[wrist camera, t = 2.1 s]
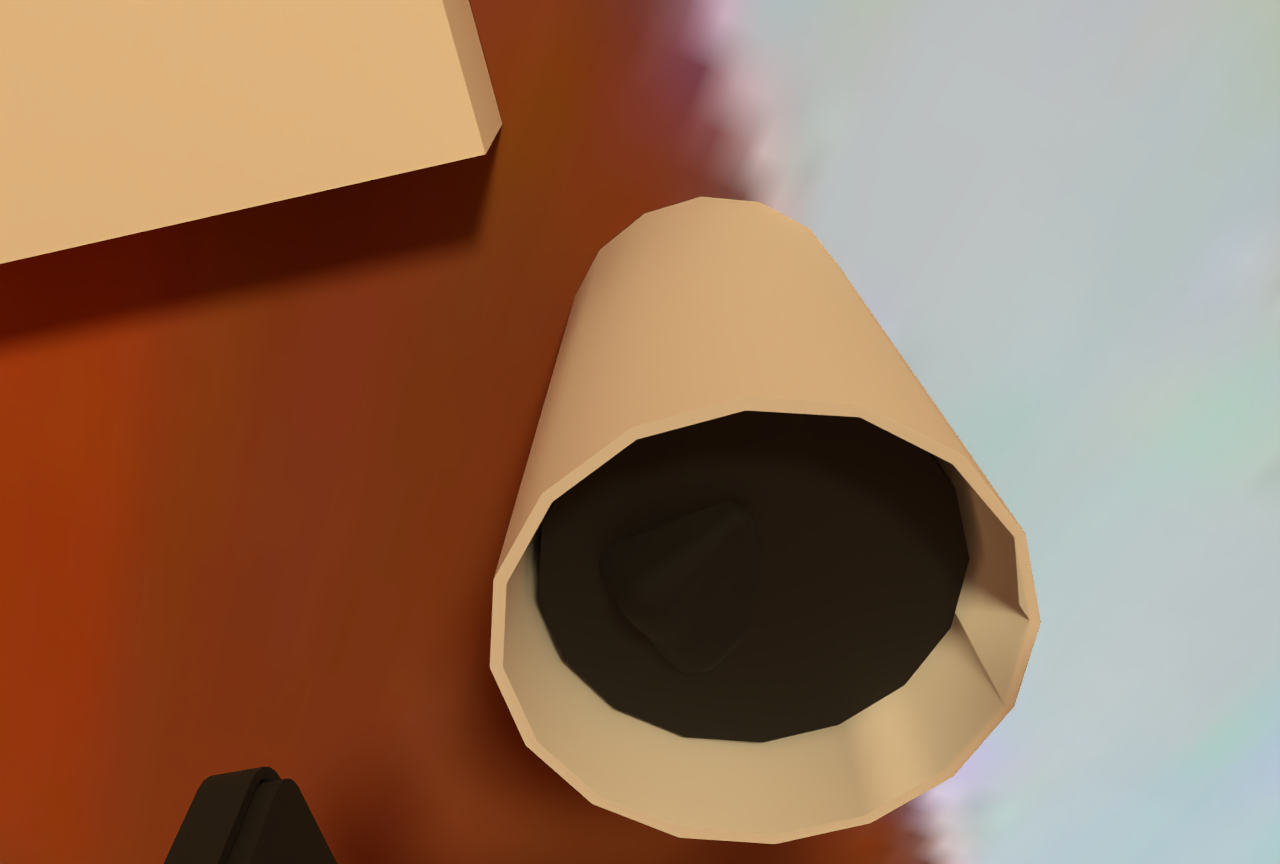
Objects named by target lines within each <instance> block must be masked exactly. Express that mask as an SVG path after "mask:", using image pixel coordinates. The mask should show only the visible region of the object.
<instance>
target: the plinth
mask: <svg viewBox="0 0 1280 864" xmlns="http://www.w3.org/2000/svg"><path fill="white" fill-rule="evenodd" d="M501 125H502V122H501V118H500V114H499V110H498V107H497V103H496V99H495V96H494V92H493V88H492V85H491V81H490V77H489V74H488V70H487V66H486V63H485V59H484V55H483V52H482V48H481V44H480V40H479V37H478V33H477V29H476V26H475V22H474V18H473V15H472V11H471V7H470V4H469V0H0V264H2V263H6V262H11V261H15V260H20V259H24V258H28V257H33V256H37V255H42V254H46V253H51V252H55V251H60V250H64V249H68V248H73V247H77V246H82V245H86V244H91V243H95V242H99V241H104V240H108V239H113V238H117V237H122V236H126V235H130V234H135V233H139V232H144V231H148V230H153V229H157V228H161V227H166V226H170V225H175V224H179V223H184V222H188V221H193V220H197V219H201V218H206V217H210V216H215V215H219V214H224V213H228V212H232V211H237V210H241V209H246V208H250V207H255V206H259V205H263V204H268V203H272V202H277V201H281V200H286V199H290V198H294V197H299V196H303V195H308V194H312V193H317V192H321V191H326V190H330V189H334V188H339V187H343V186H348V185H352V184H357V183H361V182H365V181H370V180H374V179H379V178H383V177H388V176H392V175H396V174H401V173H405V172H410V171H414V170H419V169H423V168H427V167H432V166H436V165H441V164H445V163H450V162H454V161H459V160H463V159H467V158H472V157H476V156H481V155H485V154H486V153H487V151H488V149H489V147H490V145H491V144H492V142H493V140H494V138H495V136H496V135H497V133H498V131H499V129H500V127H501Z"/></svg>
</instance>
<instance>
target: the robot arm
mask: <svg viewBox="0 0 1280 864" xmlns="http://www.w3.org/2000/svg"><path fill="white" fill-rule="evenodd" d="M164 864H337V863H336V861H335V859H334V857H333V855H332V853H331V851H330V849H329V847H328V845H327V843H326V841H325V839H324V837H323V835H322V833H321V831H320V829H319V827H318V825H317V823H316V821H315V819H314V817H313V815H312V813H311V811H310V809H309V807H308V805H307V803H306V801H305V799H304V797H303V795H302V793H301V791H300V789H299V787H298V786H297V785H296V783H295V782H294V781H293V780H291V779H282V780H281V778H280V777H279V776H278V774H277V773H276V771H275V770H273V769H272V768H270V767H260V768H254V769H248V770H243V771H237V772H231V773H225V774H219V775H213V776H210V777H208V778H207V779H205V780H204V781H203V782H202V784H201V786H200V787H199V789H198V791H197V793H196V795H195V797H194V799H193V801H192V804H191V806H190V808H189V810H188V812H187V814H186V817H185V819H184V821H183V823H182V825H181V827H180V830H179V832H178V834H177V836H176V838H175V840H174V843H173V845H172V847H171V849H170V851H169V853H168V856H167V858H166V860H165V862H164Z"/></svg>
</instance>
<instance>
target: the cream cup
mask: <svg viewBox="0 0 1280 864" xmlns="http://www.w3.org/2000/svg"><path fill="white" fill-rule="evenodd" d="M1040 623H1041V621H1040V615H1039V609H1038V604H1037V598H1036V592H1035V587H1034V581H1033V575H1032V569H1031V564H1030V558H1029V552H1028V547H1027V541H1026V535H1025V532H1024V531H1023V530H1022V528H1021V527H1020V525H1019V524H1018V522H1017V521H1016V519H1015V518H1014V517H1013V515H1012V514H1011V512H1010V511H1009V509H1008V508H1007V507H1006V505H1005V504H1004V502H1003V501H1002V499H1001V498H1000V497H999V495H998V494H997V492H996V491H995V489H994V488H993V486H992V485H991V484H990V482H989V481H988V479H987V478H986V476H985V475H984V474H983V472H982V471H981V469H980V468H979V466H978V465H977V464H976V462H975V461H974V459H973V458H972V456H971V455H970V453H969V452H968V451H967V449H966V448H965V446H964V445H963V443H962V442H961V441H960V439H959V438H958V436H957V435H956V433H955V432H954V431H953V429H952V428H951V426H950V425H949V423H948V422H947V420H946V419H945V418H944V416H943V415H942V413H941V412H940V410H939V409H938V408H937V406H936V405H935V403H934V402H933V400H932V399H931V398H930V396H929V395H928V393H927V392H926V390H925V389H924V387H923V386H922V385H921V383H920V382H919V380H918V379H917V377H916V376H915V375H914V373H913V372H912V370H911V369H910V367H909V366H908V365H907V363H906V362H905V360H904V359H903V357H902V356H901V354H900V353H899V352H898V350H897V349H896V347H895V346H894V344H893V343H892V342H891V340H890V339H889V337H888V336H887V334H886V333H885V332H884V330H883V329H882V327H881V326H880V324H879V323H878V321H877V320H876V319H875V317H874V316H873V314H872V313H871V311H870V310H869V309H868V307H867V306H866V304H865V303H864V301H863V300H862V299H861V297H860V296H859V294H858V293H857V291H856V290H855V289H854V287H853V286H852V284H851V283H850V281H849V280H848V278H847V277H846V276H845V274H844V272H843V271H842V269H841V268H840V267H839V266H838V264H837V263H836V262H835V260H834V259H833V258H832V257H831V255H830V254H829V253H828V251H827V250H826V249H825V248H824V246H823V245H822V244H821V242H820V241H819V240H818V238H817V237H816V236H815V235H814V233H813V232H812V231H811V229H809V228H807V227H805V226H803V225H802V224H800V223H798V222H796V221H794V220H792V219H790V218H789V217H787V216H785V215H783V214H781V213H779V212H777V211H776V210H774V209H772V208H770V207H768V206H766V205H764V204H762V203H761V202H753V201H743V200H732V199H721V198H711V197H698V198H695V199H692V200H688V201H685V202H682V203H678V204H675V205H672V206H668V207H665V208H662V209H658V210H655V211H652V212H648V213H645V214H643V215H642V216H641V217H640V218H639V219H637V220H636V221H635V222H634V223H632V224H631V225H630V226H629V227H627V228H626V229H625V230H624V231H623V232H621V233H620V234H619V235H618V236H616V237H615V238H614V239H613V240H611V241H610V242H609V243H608V244H606V245H605V246H604V247H603V248H602V249H600V250H599V252H598V254H597V256H596V258H595V260H594V262H593V263H592V265H591V267H590V269H589V271H588V273H587V275H586V277H585V279H584V280H583V282H582V284H581V286H580V288H579V290H578V292H577V294H576V295H575V297H574V301H573V305H572V308H571V312H570V315H569V318H568V322H567V325H566V329H565V332H564V336H563V339H562V343H561V346H560V350H559V353H558V357H557V360H556V364H555V367H554V371H553V374H552V378H551V381H550V385H549V388H548V392H547V395H546V399H545V402H544V405H543V409H542V412H541V416H540V419H539V423H538V426H537V430H536V433H535V437H534V440H533V444H532V447H531V451H530V454H529V458H528V461H527V465H526V468H525V472H524V475H523V479H522V482H521V486H520V489H519V492H518V496H517V499H516V503H515V506H514V510H513V513H512V517H511V520H510V524H509V527H508V531H507V534H506V538H505V541H504V545H503V548H502V552H501V555H500V559H499V562H498V566H497V569H496V573H495V576H494V581H493V604H492V627H491V650H490V669H491V671H492V673H493V676H494V678H495V680H496V682H497V684H498V686H499V689H500V691H501V693H502V695H503V697H504V700H505V702H506V704H507V706H508V708H509V710H510V713H511V715H512V717H513V719H514V721H515V723H516V726H517V728H518V730H519V732H520V734H521V736H522V739H523V741H524V743H525V745H526V746H527V747H528V748H529V749H530V750H531V751H533V752H534V753H535V754H536V755H537V756H538V757H539V758H541V759H542V760H543V761H544V762H545V763H546V764H547V765H548V766H550V767H551V768H552V769H553V770H554V771H555V772H556V773H558V774H559V775H560V776H561V777H562V778H563V779H564V780H566V781H567V782H568V783H569V784H570V785H571V786H572V787H574V788H575V789H576V790H577V791H578V792H579V793H580V794H582V795H583V796H584V797H585V798H586V799H587V800H588V801H589V802H591V803H592V804H594V805H596V806H599V807H602V808H604V809H607V810H609V811H612V812H614V813H617V814H620V815H622V816H625V817H627V818H630V819H632V820H635V821H638V822H640V823H643V824H645V825H648V826H650V827H653V828H656V829H658V830H661V831H663V832H666V833H668V834H671V835H674V836H676V837H679V838H693V839H707V840H722V841H737V842H751V843H766V844H778V843H782V842H787V841H791V840H796V839H800V838H805V837H809V836H814V835H819V834H823V833H828V832H832V831H837V830H841V829H846V828H850V827H855V826H859V825H864V824H868V823H871V822H873V821H875V820H877V819H878V818H880V817H882V816H884V815H885V814H887V813H889V812H891V811H892V810H894V809H896V808H898V807H900V806H901V805H903V804H905V803H907V802H908V801H910V800H912V799H914V798H915V797H917V796H919V795H921V794H923V793H924V792H926V791H928V790H930V789H931V788H933V787H935V786H937V785H939V784H940V783H942V782H944V781H946V780H947V779H949V778H951V777H953V776H954V775H955V774H956V773H957V771H958V770H959V769H960V768H961V767H962V766H963V764H964V763H965V762H966V761H967V760H968V759H969V758H970V756H971V755H972V754H973V753H974V752H975V751H976V750H977V748H978V747H979V746H980V745H981V744H982V743H983V742H984V740H985V739H986V738H987V737H988V736H989V735H990V733H991V732H992V731H993V730H994V729H995V728H996V727H997V725H998V724H999V723H1000V722H1001V721H1002V720H1003V719H1004V717H1005V716H1006V715H1007V714H1008V713H1009V712H1010V711H1011V709H1012V708H1013V707H1014V705H1015V702H1016V699H1017V695H1018V692H1019V689H1020V686H1021V683H1022V680H1023V676H1024V673H1025V670H1026V667H1027V664H1028V661H1029V657H1030V654H1031V651H1032V648H1033V645H1034V642H1035V638H1036V635H1037V632H1038V629H1039V626H1040Z"/></svg>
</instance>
